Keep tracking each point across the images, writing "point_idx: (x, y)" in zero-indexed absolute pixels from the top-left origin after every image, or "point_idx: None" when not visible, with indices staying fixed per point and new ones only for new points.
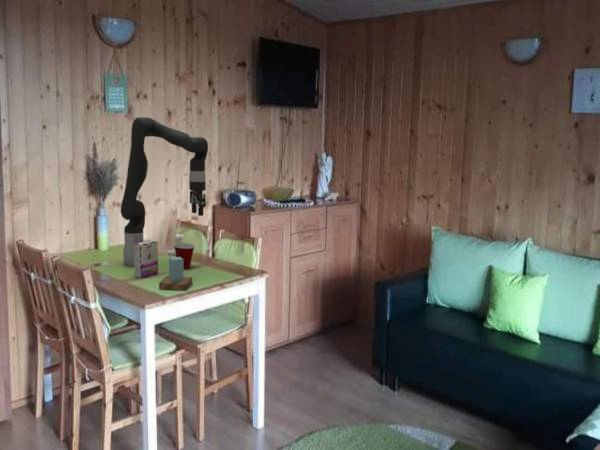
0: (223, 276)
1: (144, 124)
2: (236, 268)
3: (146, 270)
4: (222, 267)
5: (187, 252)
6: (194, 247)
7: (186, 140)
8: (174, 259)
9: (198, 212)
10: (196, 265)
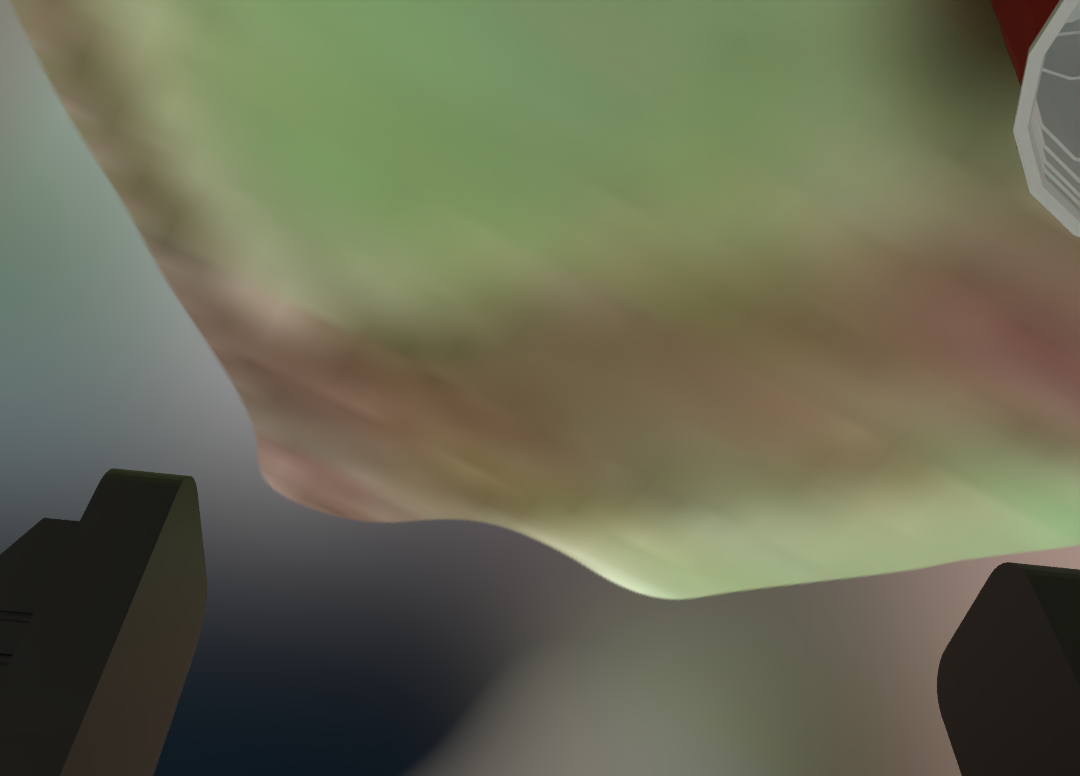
0: (362, 153)
1: None
2: (598, 420)
3: None
4: (726, 336)
5: (1038, 16)
6: (1034, 188)
7: None
8: None
9: (120, 582)
10: None
